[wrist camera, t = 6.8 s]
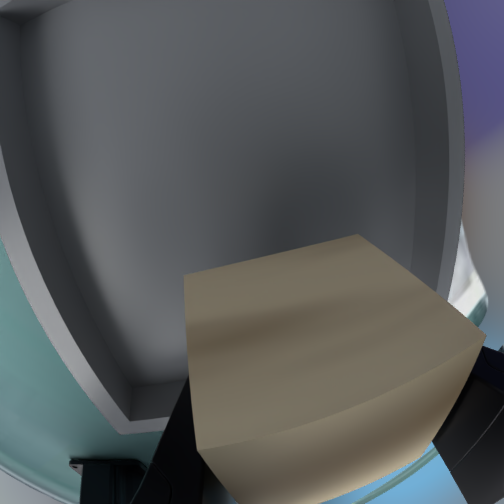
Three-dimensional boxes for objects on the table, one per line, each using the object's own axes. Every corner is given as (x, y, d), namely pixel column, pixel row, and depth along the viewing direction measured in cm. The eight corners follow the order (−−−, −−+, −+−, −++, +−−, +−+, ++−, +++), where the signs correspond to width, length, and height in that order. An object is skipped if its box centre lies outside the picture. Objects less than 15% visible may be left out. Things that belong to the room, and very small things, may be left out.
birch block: (352, 355, 11) (420, 456, 6) (223, 394, 10) (253, 521, 5) (358, 233, 8) (486, 335, 4) (183, 275, 8) (196, 450, 3)
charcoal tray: (405, 313, 16) (435, 343, 13) (124, 388, 13) (119, 434, 11) (387, -26, 8) (428, -44, 5) (11, 23, 6) (-27, 5, 3)
